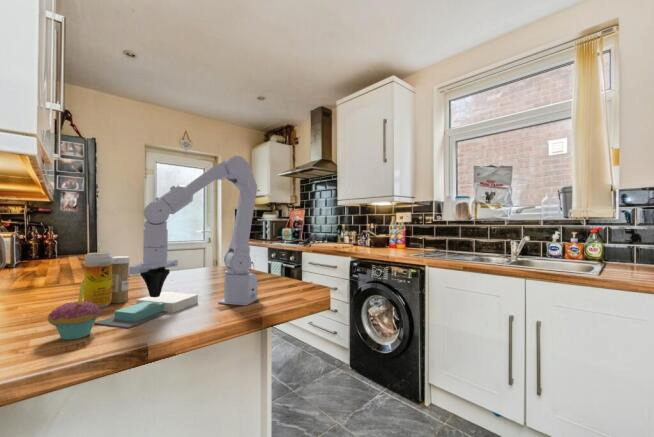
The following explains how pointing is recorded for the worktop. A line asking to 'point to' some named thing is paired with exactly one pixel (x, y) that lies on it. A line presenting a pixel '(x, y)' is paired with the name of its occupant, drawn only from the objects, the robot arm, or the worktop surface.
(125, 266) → the sprinkles bottle
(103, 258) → the beer can
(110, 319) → the mat
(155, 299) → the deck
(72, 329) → the cupcake
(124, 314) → the teal rectangular block
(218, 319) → the worktop surface
